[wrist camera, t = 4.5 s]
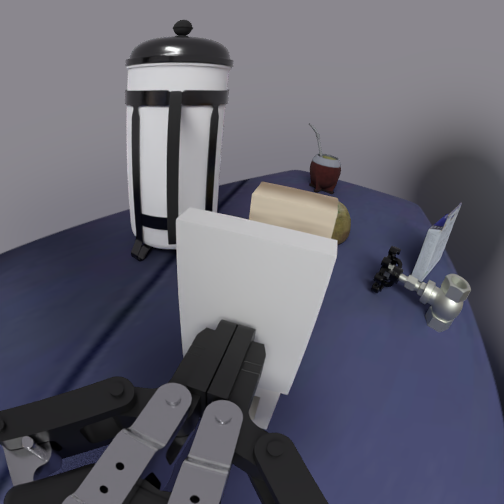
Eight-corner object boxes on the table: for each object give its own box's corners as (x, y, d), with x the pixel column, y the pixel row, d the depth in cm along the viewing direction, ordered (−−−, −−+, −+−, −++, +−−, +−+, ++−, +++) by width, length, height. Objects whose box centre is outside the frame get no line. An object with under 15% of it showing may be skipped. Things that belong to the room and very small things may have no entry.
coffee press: (98, 241, 40) (91, 26, 24) (178, 208, 51) (188, 32, 35) (175, 300, 32) (185, -9, 16) (259, 246, 43) (289, 27, 27)
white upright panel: (272, 430, 18) (336, 256, 10) (188, 405, 19) (175, 219, 11) (284, 386, 21) (338, 212, 13) (208, 364, 22) (215, 185, 14)
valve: (452, 317, 34) (383, 277, 40) (474, 278, 30) (398, 238, 36) (443, 344, 29) (365, 299, 36) (470, 303, 26) (382, 255, 32)
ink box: (429, 254, 48) (451, 196, 42) (439, 260, 46) (463, 202, 40) (408, 276, 41) (435, 207, 35) (420, 283, 39) (450, 214, 33)
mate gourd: (340, 191, 68) (353, 130, 60) (326, 198, 63) (340, 131, 55) (313, 181, 72) (324, 122, 64) (297, 187, 66) (308, 122, 58)
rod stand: (270, 476, 17) (318, 403, 11) (166, 442, 18) (134, 346, 12) (313, 290, 36) (338, 198, 30) (250, 274, 37) (262, 181, 31)
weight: (280, 204, 57) (284, 180, 55) (348, 221, 55) (354, 197, 52) (260, 235, 46) (264, 205, 44) (345, 258, 44) (354, 228, 41)
